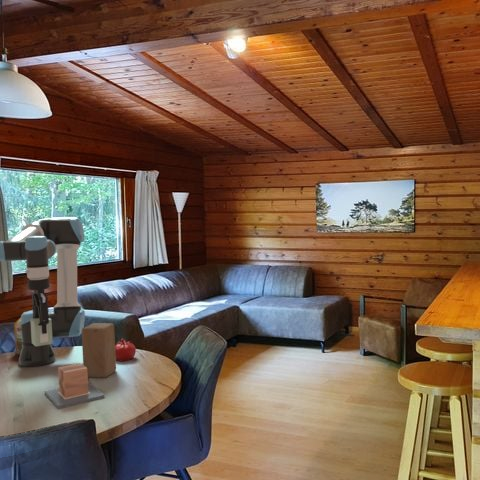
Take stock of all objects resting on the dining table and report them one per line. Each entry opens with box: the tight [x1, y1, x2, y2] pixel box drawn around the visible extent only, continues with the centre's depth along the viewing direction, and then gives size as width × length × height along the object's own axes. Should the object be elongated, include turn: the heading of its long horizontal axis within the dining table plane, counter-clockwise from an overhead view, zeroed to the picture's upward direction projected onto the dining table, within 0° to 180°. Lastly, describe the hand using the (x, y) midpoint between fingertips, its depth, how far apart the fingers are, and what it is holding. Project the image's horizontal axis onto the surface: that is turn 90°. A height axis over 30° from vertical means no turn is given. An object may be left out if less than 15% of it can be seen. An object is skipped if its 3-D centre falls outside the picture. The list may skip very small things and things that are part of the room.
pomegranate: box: [115, 338, 137, 362], centre depth 229 cm, size 10×10×9 cm
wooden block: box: [81, 322, 117, 379], centre depth 208 cm, size 10×10×20 cm
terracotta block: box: [57, 362, 89, 398], centre depth 184 cm, size 8×8×9 cm
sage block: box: [30, 318, 54, 346], centre depth 190 cm, size 6×6×9 cm
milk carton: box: [13, 311, 26, 356], centre depth 245 cm, size 11×11×19 cm
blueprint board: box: [44, 381, 105, 410], centre depth 185 cm, size 18×16×1 cm
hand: (42, 340), depth 191 cm, fingers closed on sage block, 6 cm apart
